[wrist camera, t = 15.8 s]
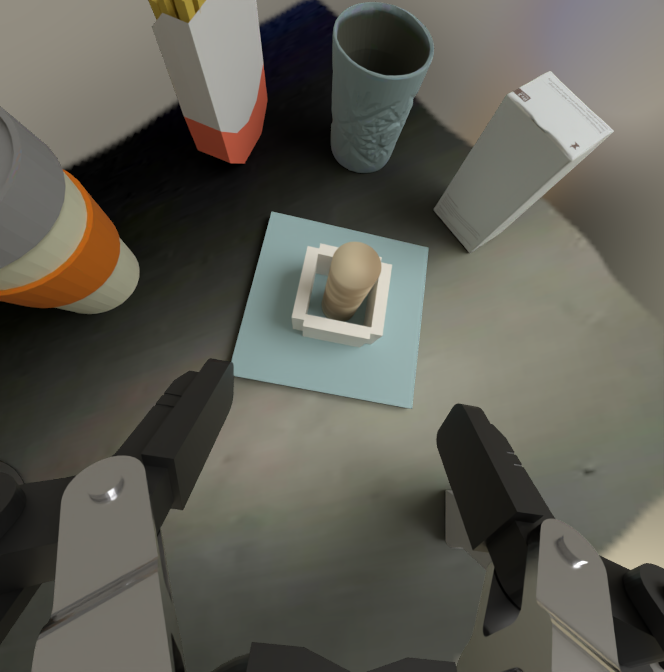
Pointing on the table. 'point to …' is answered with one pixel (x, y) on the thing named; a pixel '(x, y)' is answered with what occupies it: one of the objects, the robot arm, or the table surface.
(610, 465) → the table surface
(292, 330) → the sleeve holder
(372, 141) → the blue embossed cup
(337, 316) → the maple peg
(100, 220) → the reusable coffee cup
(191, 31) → the french fries container
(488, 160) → the skincare box
